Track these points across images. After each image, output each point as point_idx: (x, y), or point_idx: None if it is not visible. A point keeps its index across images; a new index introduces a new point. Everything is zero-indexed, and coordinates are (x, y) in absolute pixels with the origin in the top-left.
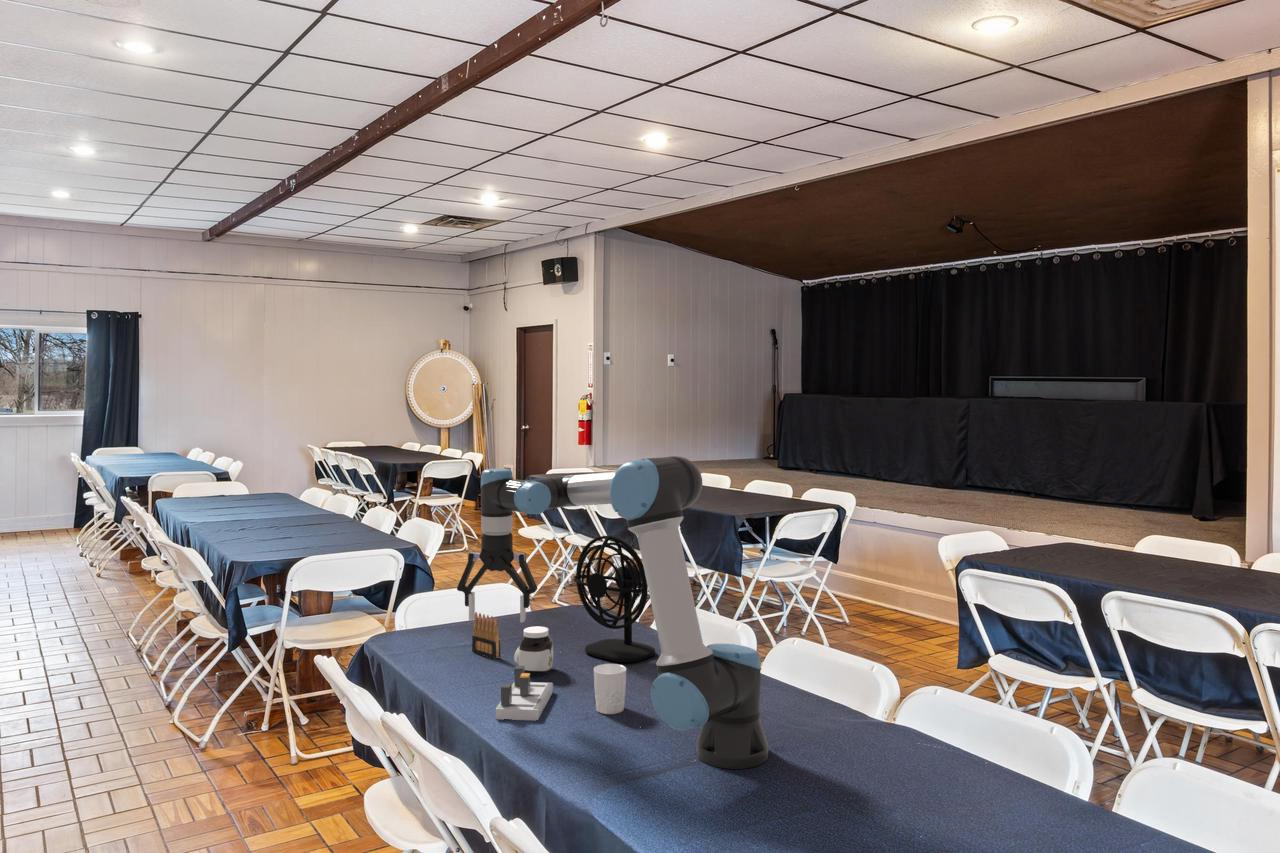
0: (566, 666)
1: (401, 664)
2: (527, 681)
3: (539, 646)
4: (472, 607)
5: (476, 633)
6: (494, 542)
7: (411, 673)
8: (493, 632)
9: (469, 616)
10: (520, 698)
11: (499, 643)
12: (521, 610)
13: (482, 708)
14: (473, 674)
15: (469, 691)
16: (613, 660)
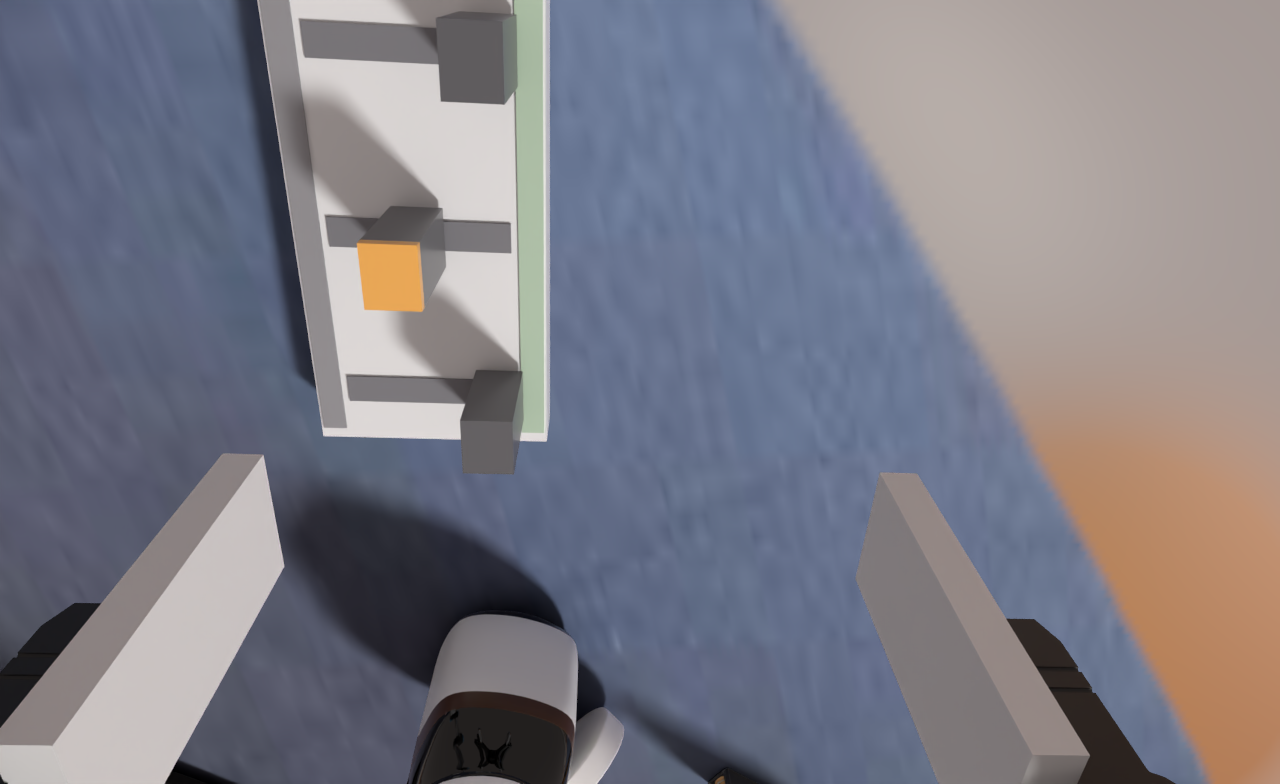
0: (384, 717)
1: (1137, 698)
2: (371, 233)
3: (445, 724)
4: (928, 608)
5: None
6: None
7: (1090, 607)
8: None
9: (927, 504)
10: (433, 177)
11: None
12: (169, 550)
13: (668, 161)
14: (797, 611)
15: (783, 406)
16: (175, 773)
